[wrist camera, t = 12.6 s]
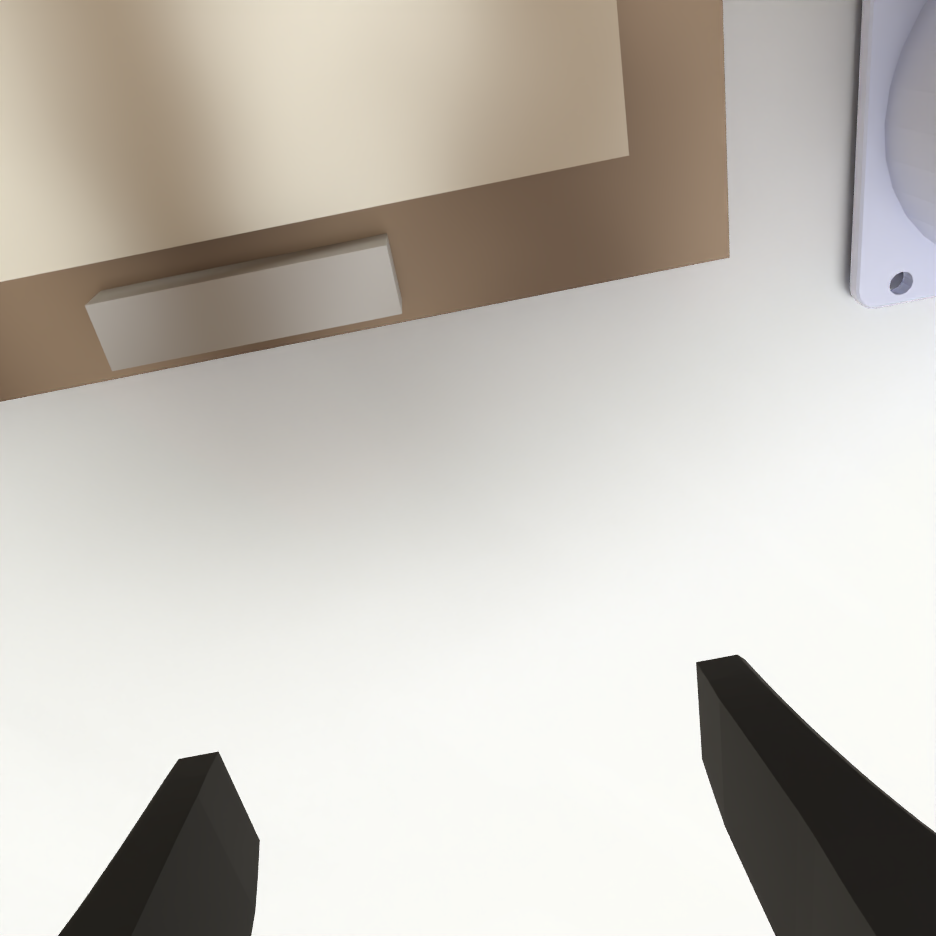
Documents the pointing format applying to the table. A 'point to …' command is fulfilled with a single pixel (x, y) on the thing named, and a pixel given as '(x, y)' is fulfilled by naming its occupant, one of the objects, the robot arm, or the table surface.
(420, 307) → the clipboard
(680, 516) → the table surface
